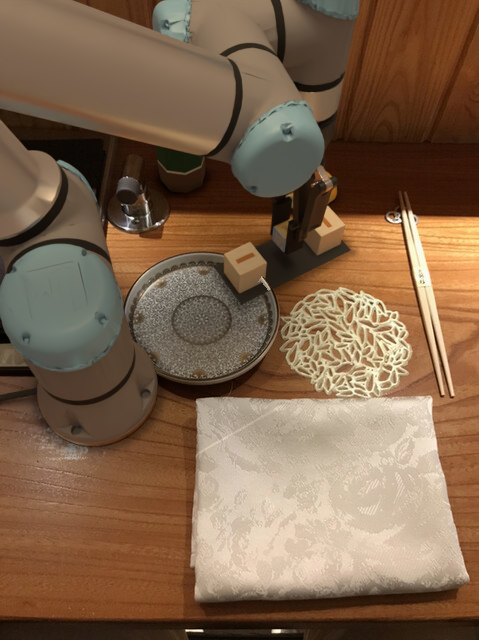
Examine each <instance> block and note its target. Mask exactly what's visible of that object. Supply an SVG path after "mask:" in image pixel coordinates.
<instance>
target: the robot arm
mask: <svg viewBox="0 0 479 640" xmlns="http://www.w3.org/2000/svg"><path fill="white" fill-rule="evenodd" d="M360 1H361V0H162V1H160V2H158V3H157V4H156V5H155V7H154V8H153V12H152V20H151V21H152V22H151V23H152V29H151V28H149V27H146V26H144V25H141V24H137V23H135V22H133V21H129V20H127V19H125V18H122V17H119V16H116V15H113V14H111V13H108V12H105V11H102V10H100V9H98V8H95V7H92V6H89V5H87V4H84V3H81V2H78V1H76V0H0V109H1V110H5V111H10V112H14V113H17V114H18V113H19V114H22V115H27V116H31V117H35V118H39V119H44V120H47V121H51V122H56V123H59V124H64V125H69V126H72V127H77V128H80V129H86V130H90V131H94V132H99V133H103V134H105V135H111V136H115V137H119V138H122V139H123V138H124V139H128V140H132V141H137V142H141V143H144V144H149V145H153V146H155V145H157V146H161V147H165V148H170V149H174V150H178V151H182V152H186V153H191V154H195V155H199V156H203V157H205V158H207V159H210V160H214V161H218V162H222V163H223V162H224V163H226V164H229V165H230V169H231V173H232V175H233V176H234V177H235V178H236V179H237V180H238V182H239V183H240V185H241V186H242V187H243V189H245V190H246V191H247V192H249V193H250V194H251V195H254V196H256V197H260V198H270V199H271V208H270V211H271V222H270V231H269V232H270V233H269V234H270V236H271V237H272V236H273V227H274V226H276V225H278V224H280V223H282V222H284V221H286V220H288V219H292V220H290V221H289V222H288V229H287V237H286V244H285V253H286V254H287V255H289V254H291V253H293V252H295V251H297V250H299V249H301V248H303V243H304V239H306V238H307V234H308V232H310V231H312V230H314V229H316V228H318V227H320V226H321V225H322V221H323V218H324V215H325V212H326V208H327V206H329V203H328V202H329V199H330V195H331V192H332V190H333V189H334V188H335V187H337V186H338V185H339V181H338V178H337V176H334V175H333V176H332V175H331V176H332V177H330V178H329V176H328V175H327V173H326V172H327V171H326V169H325V165H326V157H325V151H326V149H327V147H328V146H329V144H330V143H331V141H332V139H333V136H334V133H335V128H336V123H337V118H338V109H339V105H340V101H341V95H342V91H343V85H344V80H345V74H346V71H347V70H346V69H347V66H348V65H347V64H348V60H349V55H350V51H351V47H352V41H353V36H354V31H355V26H356V21H357V18H358V17H359V13H360ZM291 193H293V208H291V206H292V199H291V197H290V196H289V197H286V195H289V194H291ZM291 213H292V218H291ZM0 256H1V258H2V261H3V266H4V273H5V275H4V276H3V279H2V281H1V284H0V320H1V324H2V327H3V330H4V333H5V334H6V336H7V337H8V340H9V341H10V345H12V346H13V347H14V349H15V351H17V352H18V353H19V355H20V356H21V357H22V359H23V361H24V362H25V364H26V365H27V366H28V368H29V369H30V371H31V373H32V374H33V375H34V377H35V379H36V380H37V387H33V388H29V389H28V388H27V389H22V390H17V391H12V392H7V393H2V394H1V393H0V403H1V402H6V401H11V400H16V399H22V398H28V397H32V396H36V397H37V399H36V400H37V403H38V407H39V410H40V413H41V415H42V417H43V419H44V421H45V422H46V424H47V425H48V426H49V428H50V429H51V430H52V432H54V433H55V434H56V435H57V436H59V437H60V438H61V439H64V440H65V441H67V442H70V443H71V444H75V445H78V446H84V447H101V446H107V445H112V444H114V443H117V442H119V441H122V440H124V439H126V438H127V437H129V436H131V435H132V434H133V433H134V432H136V431H137V430H138V429H139V428H141V426H142V425H143V424H144V423H145V422H146V421H147V419H148V418H149V417H150V416H151V413H152V411H153V410H154V408H155V405H156V402H157V398H158V394H159V381H158V375H157V371H156V372H155V370H156V368H155V369H154V367H155V365H154V362H153V360H152V359H151V358H150V356H149V354H148V352H147V351H146V350H145V349H144V348H143V347H142V346H141V345H140V344H139V343H137V341H135V340H134V339H133V337H132V334H131V330H130V326H129V323H128V319H127V316H126V312H125V308H124V301H123V295H122V291H121V288H120V285H119V282H118V280H117V278H116V274H115V271H114V266H113V262H112V258H111V253H110V251H109V247H108V242H107V239H106V236H105V231H104V228H103V224H102V219H101V212H100V206H99V204H98V199H97V197H96V195H95V192H94V190H93V189H92V187H91V185H90V183H89V182H88V180H87V179H86V177H85V176H84V175H83V174H82V172H80V171H79V170H78V169H77V168H75V167H74V166H73V165H71V164H70V163H68V162H66V161H64V160H62V159H58V160H56V159H54V158H53V157H52V156H51V155H50V154H48V153H47V152H44V151H41V150H33V149H32V150H28V149H27V148H26V147H25V146H24V144H23V143H22V142H21V141H20V140H19V139H18V137H16V135H15V134H14V133H13V132H12V131H11V130H10V129H9V128H8V126H7V125H6V124H5V123H4V122H3V121H2V120H1V119H0ZM153 365H154V366H153Z"/></svg>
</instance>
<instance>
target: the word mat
mask: <svg viewBox="0 0 479 640" xmlns="http://www.w3.org/2000/svg"><path fill="white" fill-rule="evenodd" d="M254 247H255V248H256V250H257V251H258V252H259V253H260V255H261V256H262V257H263V259H264V260H265V261H266V262H267V266H266V276H265V280H266V281H267V282H268V283H269V285H270V286H271V288H272V290H275V289H276V288H278V287H280V286H282V285H284V284H286V283H288V282H290V281H292V280H294V279H297V278H298V277H300V276H302V275H304V274H307V273H309V272H310V271H313V270H315V269H316V268H318V267H320V266H322V265H324V264H326V263H328V262H330V261H332V260H334V259H336V258H338V257H340V256H343V255H345V254H347V253H348V252H351V251H352V250H351V248H350V247H349V246H348V245H347V243H345V242H344V240H343V239H342V240H341V244H340V245H338V246H336V247H334V248H332V249H330V250H328V251H326V252H323V253H321V254H319V255H316V254H315V253H314V251H313V250H312V249H311V248H310V247H309V246H308V244H307V243H306V242H305V241H304V243H303V248H301V249H299V250H297V251H295V252H293V253H291V254H289V255H287V254H286V253H285V252H283V251H282V250H281V249H280V248H279V247H278V246H277V245H276V243H275V242H274V241H273V240H272V239H270V240H267V241H266V242H263V243H261V244H259V245H257V246H254ZM213 268H214V269H215V272H216V273H217V274H218V276H220V278H221V280H222V281H223V282H224V284H225V285H226V286H227V288H228V289H229V291H230V292H231V293H232V294H233V296H234V297H235V299H236V300H237V301H238V303H239V304H240V305H244V304H245V303H248V302H250V301H252V300H254V299H256V298H257V297H260V296H262V295H264V294H266V293H268V292H269V291H268V290H267V288H266V287H265V286H264V285H263V283H260V284H258V285H256V286H254V287H252V288H250V289H248V290H246V291H244V292H242V293H239V292H238V291H237V290H236V288H235V287H234V286H233V284H232V283H231V282H230V280H229V279H228V277H227V276H226V275H225V273H224V261H222V262H220V263H218V264H216V265H214V266H213Z"/></svg>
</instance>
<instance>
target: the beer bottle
mask: <svg viewBox="0 0 479 640" xmlns="http://www.w3.org/2000/svg"><path fill="white" fill-rule="evenodd" d="M154 146H155V152H156V160H157V167H158V168H157V169H158V174H159V178H160V182H162V184H163V185H164V186H165V187H166V188H167V190H168V191H169V192H171V193H178V194H181V193H184V194H189V193H190V192H193V191H194V190H197V189H198V188H201V187H202V186H203V183H204V179H205V175H206V157H203V156H199V155H195V154H191V153H186V152H182V151H178V150H174V149H170V148H165V147H161V146H157V145H154Z"/></svg>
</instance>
